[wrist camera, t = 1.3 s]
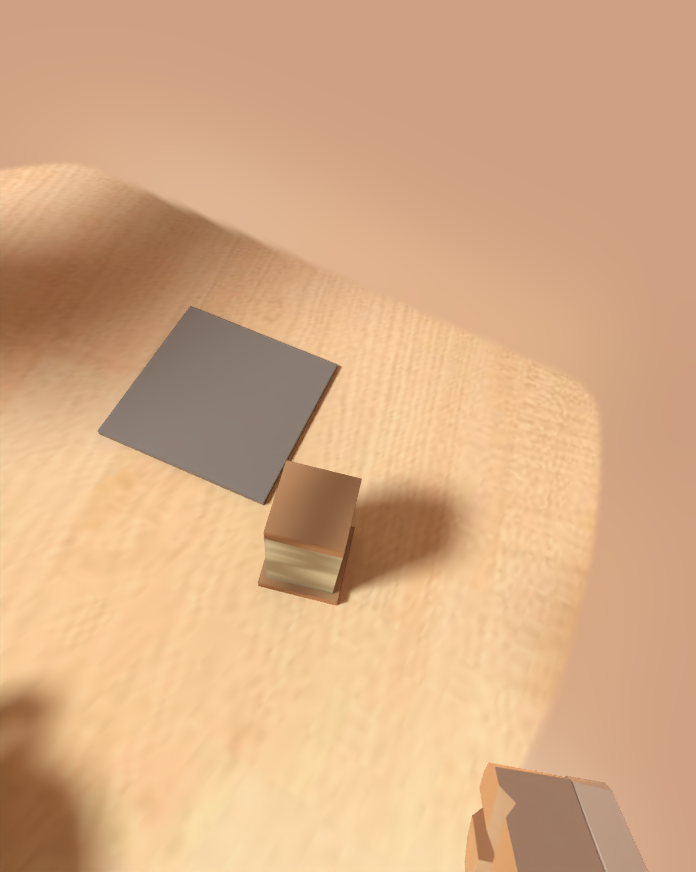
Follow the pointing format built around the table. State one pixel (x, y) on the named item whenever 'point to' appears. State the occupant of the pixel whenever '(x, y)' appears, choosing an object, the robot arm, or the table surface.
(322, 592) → the banded square pillar
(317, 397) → the mat
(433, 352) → the table surface
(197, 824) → the table surface
